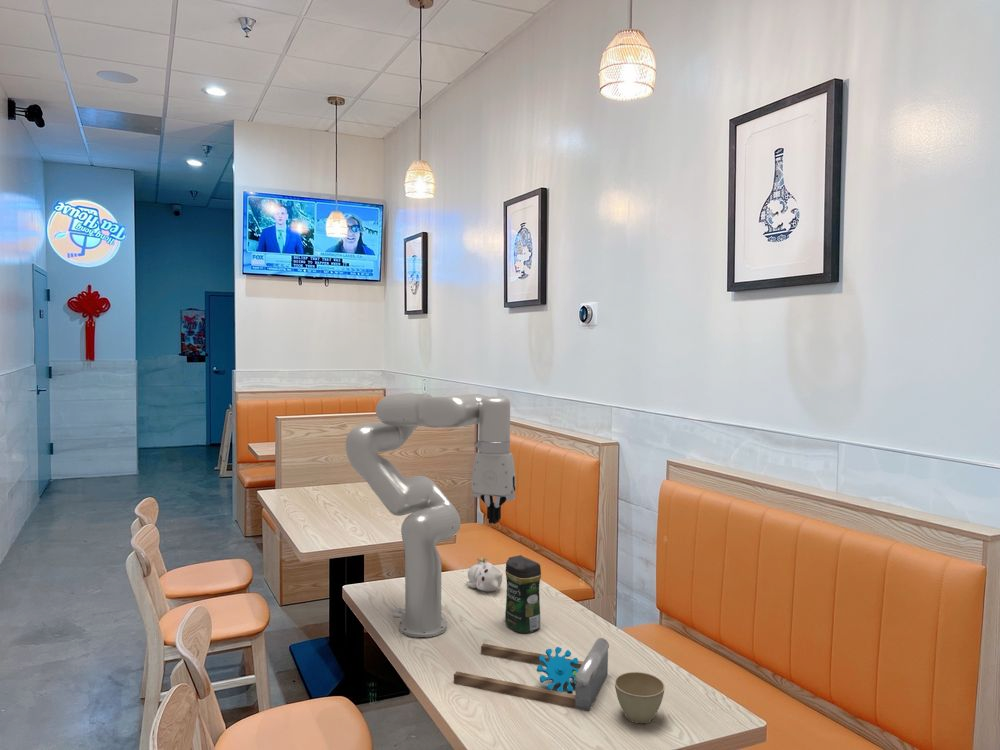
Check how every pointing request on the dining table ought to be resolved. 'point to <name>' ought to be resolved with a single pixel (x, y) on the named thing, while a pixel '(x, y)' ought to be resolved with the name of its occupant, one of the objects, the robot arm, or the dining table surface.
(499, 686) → the guide
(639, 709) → the flower pot
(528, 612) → the coffee jar
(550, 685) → the gear
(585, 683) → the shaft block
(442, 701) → the dining table surface
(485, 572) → the cat figurine
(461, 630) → the dining table surface
